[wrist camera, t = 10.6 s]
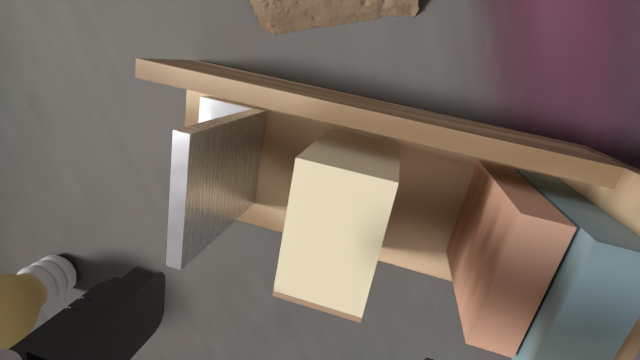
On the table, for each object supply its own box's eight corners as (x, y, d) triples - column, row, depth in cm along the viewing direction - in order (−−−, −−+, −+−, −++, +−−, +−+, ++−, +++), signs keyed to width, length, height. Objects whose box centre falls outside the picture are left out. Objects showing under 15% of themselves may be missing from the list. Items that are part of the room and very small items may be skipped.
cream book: (331, 128, 23) (295, 157, 15) (401, 144, 22) (398, 182, 15) (311, 228, 25) (272, 295, 18) (373, 245, 25) (360, 322, 17)
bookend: (205, 95, 24) (99, 111, 16) (267, 110, 23) (190, 134, 15) (198, 188, 26) (102, 245, 18) (253, 204, 26) (180, 270, 17)
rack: (197, 60, 25) (59, 55, 15) (585, 145, 21) (742, 214, 11) (187, 198, 28) (71, 268, 18) (517, 292, 24) (592, 443, 15)
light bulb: (101, 300, 34) (-15, 389, 24) (48, 297, 35) (-80, 379, 26) (82, 238, 32) (-50, 309, 23) (27, 238, 33) (-119, 303, 24)
